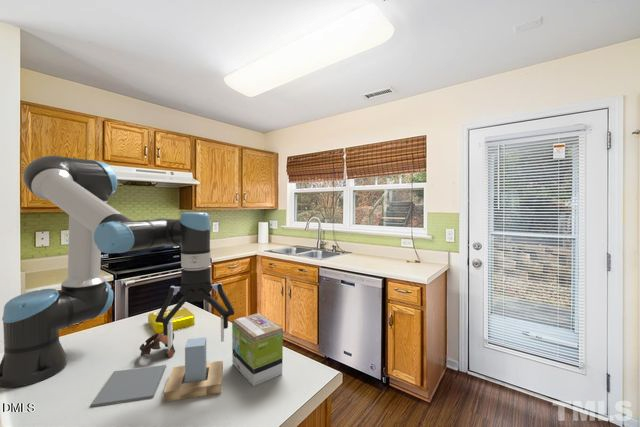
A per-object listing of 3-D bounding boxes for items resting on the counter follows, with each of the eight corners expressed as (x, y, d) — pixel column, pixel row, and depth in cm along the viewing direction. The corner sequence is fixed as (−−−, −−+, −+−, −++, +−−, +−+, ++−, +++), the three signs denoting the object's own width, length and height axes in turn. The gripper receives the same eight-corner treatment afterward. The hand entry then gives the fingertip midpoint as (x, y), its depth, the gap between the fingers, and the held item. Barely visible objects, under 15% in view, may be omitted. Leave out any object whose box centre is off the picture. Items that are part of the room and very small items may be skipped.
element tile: (155, 336, 113) (155, 324, 113) (147, 324, 124) (147, 312, 124) (195, 326, 123) (195, 314, 123) (184, 315, 134) (184, 305, 134)
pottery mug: (168, 364, 94) (152, 345, 92) (145, 374, 96) (129, 355, 94) (186, 338, 105) (173, 320, 103) (166, 347, 107) (152, 329, 105)
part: (185, 390, 80) (184, 347, 80) (187, 380, 85) (187, 339, 85) (204, 387, 82) (204, 345, 81) (206, 377, 87) (206, 337, 86)
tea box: (230, 364, 94) (231, 318, 93) (259, 354, 100) (259, 311, 99) (253, 388, 82) (253, 335, 82) (283, 374, 89) (284, 326, 88)
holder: (163, 401, 76) (163, 392, 76) (173, 375, 87) (173, 367, 87) (221, 392, 80) (221, 383, 80) (222, 368, 91) (222, 360, 91)
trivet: (90, 407, 73) (90, 404, 73) (114, 373, 88) (114, 371, 88) (153, 397, 77) (153, 395, 77) (166, 366, 92) (166, 364, 92)
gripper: (141, 273, 75) (143, 355, 76) (242, 267, 82) (243, 342, 83) (149, 267, 82) (151, 342, 83) (242, 262, 89) (242, 331, 90)
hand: (197, 342), depth 83 cm, fingers open, 13 cm apart
